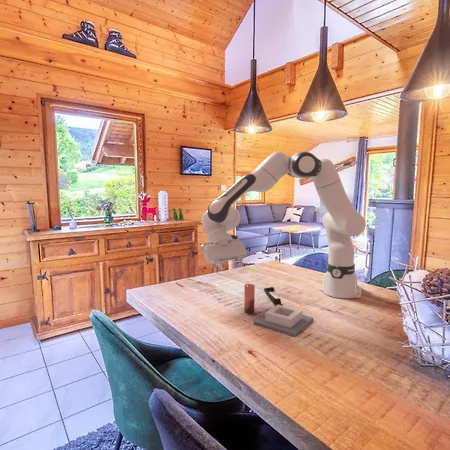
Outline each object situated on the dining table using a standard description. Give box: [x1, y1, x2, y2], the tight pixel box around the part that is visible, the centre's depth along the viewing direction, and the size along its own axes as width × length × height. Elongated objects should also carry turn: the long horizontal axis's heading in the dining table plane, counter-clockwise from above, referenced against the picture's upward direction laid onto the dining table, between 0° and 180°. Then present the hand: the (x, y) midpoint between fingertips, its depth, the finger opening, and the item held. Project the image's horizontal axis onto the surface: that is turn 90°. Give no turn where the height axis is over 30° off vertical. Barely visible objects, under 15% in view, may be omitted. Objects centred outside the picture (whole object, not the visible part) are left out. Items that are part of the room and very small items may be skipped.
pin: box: [243, 283, 256, 315], centre depth 119 cm, size 4×4×11 cm
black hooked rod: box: [263, 286, 284, 307], centre depth 132 cm, size 5×5×30 cm
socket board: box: [253, 305, 314, 337], centre depth 111 cm, size 16×16×4 cm
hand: (232, 267), depth 128 cm, fingers open, 8 cm apart
